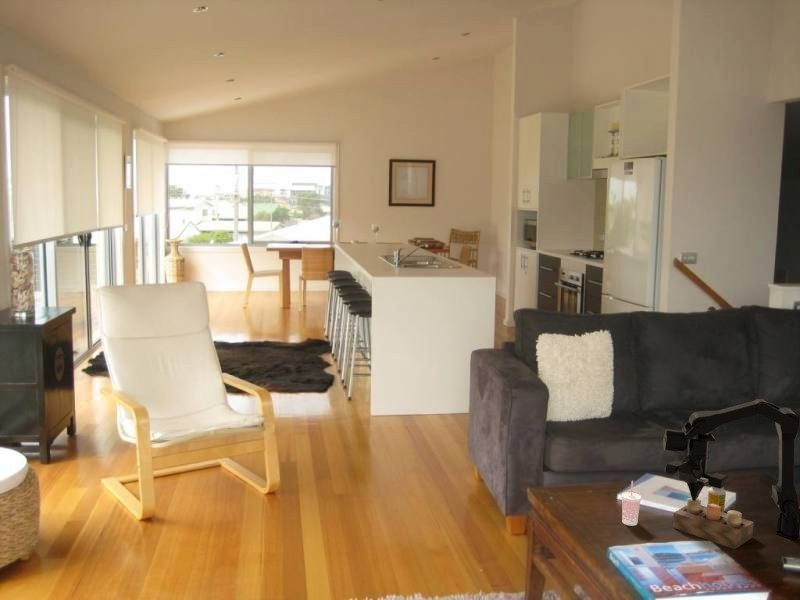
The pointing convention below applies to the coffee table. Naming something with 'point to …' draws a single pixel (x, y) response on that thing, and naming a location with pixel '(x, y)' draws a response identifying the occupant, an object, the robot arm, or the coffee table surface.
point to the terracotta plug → (713, 512)
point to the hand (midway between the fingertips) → (694, 500)
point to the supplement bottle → (717, 497)
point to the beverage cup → (630, 507)
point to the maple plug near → (734, 519)
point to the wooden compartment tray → (713, 527)
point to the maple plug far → (693, 506)
